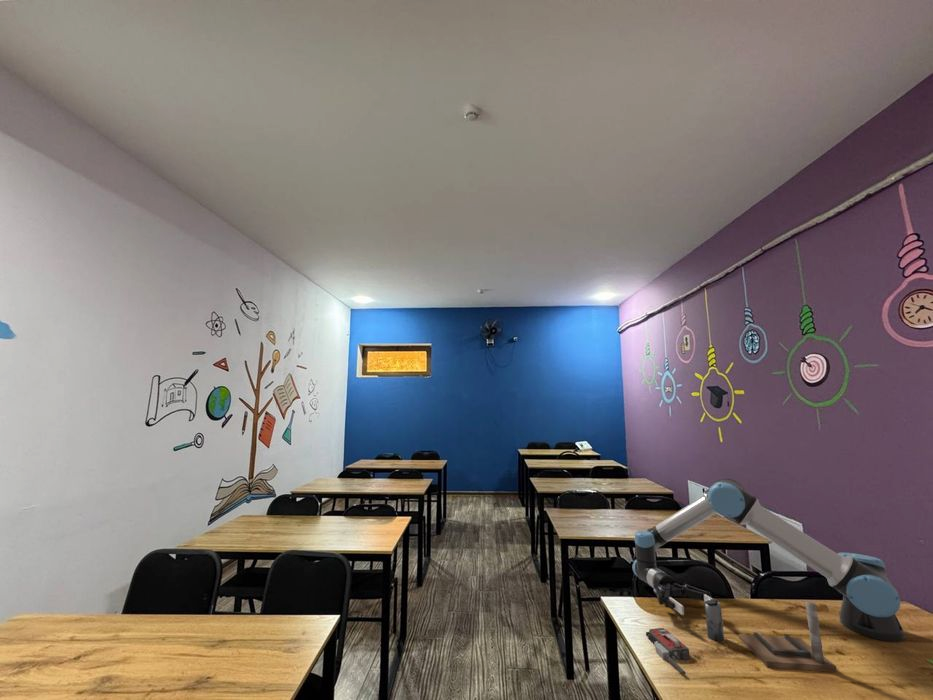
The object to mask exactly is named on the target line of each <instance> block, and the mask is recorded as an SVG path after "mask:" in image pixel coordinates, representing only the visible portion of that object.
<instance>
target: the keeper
mask: <svg viewBox="0 0 933 700" xmlns="http://www.w3.org/2000/svg"><path fill="white" fill-rule="evenodd" d="M804 603H805V611H806V618H807V623H808V624H807V625H808V631H809V632H808V633H809V641H810V644H809V643H808V642H806V641H805V639H803V638H802V637H798V636H790V635H789V634H788V633H787V634H786V633H784V634H783V635H784V636H780V635H779V636H777V635H763V634H762V635H761V634H759V633H758V632H755V631H754V632H753V634H744V633H743V634H742V633H741V634H740V633H738V640H739V639H740V640H741V641H742V642H743V643H744V644H745V645H746V646H747V647H748V648H749V649H750V650H751V651H752V652H753V653H754V654H755V655H756V656H757V657H758V658H759V659H760V660H761V661H762V662H763V663H764V664H763V663H762V662H761V661H760V660H759V659H758V658H757V657H756V656H755V655H754V654H753V653H752V654H753V655H754V656H755V657H756V658H757V659H758V660H759V661H760V662H761V663H762V664H763V665H764V666H765V667H766V668H771V669H773V668H774V669H786V670H787V669H788V670H803V671H805V670H806V671H819V672H832V673H837V671H838V670H837V665H836V664H834V663H833V662H832V661H830V660H829V659H828V658H826V657H825V656H824V651H823V645H822V636H821V631H820V623H819V617H818V612H823V613H824V612H825V613H829V611H830V610H829V607H828V605H827V604H824V603H823V604H822V603H814V602H811V601H805V602H804ZM740 640H739V641H740ZM741 641H740V642H741ZM742 642H741V643H742ZM743 643H742V644H743ZM744 644H743V645H744ZM745 645H744V646H745ZM746 646H745V647H746ZM747 647H746V648H747ZM749 649H748V650H749ZM750 650H749V651H750ZM751 651H750V652H751Z"/></svg>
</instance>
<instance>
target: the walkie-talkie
mask: <svg viewBox="0 0 933 700" xmlns="http://www.w3.org/2000/svg"><path fill="white" fill-rule="evenodd" d="M645 635H646V637H647V638H648V639H649V641H650V642H651V643H653V644H654V645H653V646H654V647H655V652H656V654H657V655H658V656H660V658H661V659H662V660H663V661H666V660H667V661H668V662H669V663H670V664H672V666H673V667H674V668H676V670H678V671H679V672H681V674H683V675H686V670H684V669H683V667H681V666H680V665H679V664H678V663H677V662H676V660H688V659H691V658H690V649H689V648H688V646H686V645H685V644H684V643H683V642H682V641H680V640H679V639H678V638H677V637H676V636H675V635H673V634H672V633H671V632H670V631H669V630H668V629H666V628H664V627H661V628H660V627H659V628H650V629H649V630H648V631H646V632H645Z"/></svg>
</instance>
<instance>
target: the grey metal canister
mask: <svg viewBox="0 0 933 700" xmlns="http://www.w3.org/2000/svg"><path fill="white" fill-rule="evenodd" d="M703 602H704V601H703ZM718 602H719V601H718V599H717V598H712V599H707V600H706V601H705V602H704V614H705V622H706V632H707V638H708V639H709V640H711V641H713V640H714V642H716V641H718V642H717V643H723V642H722V641H724V642H725V633H724V632H725V630H724V624H723V622H724V621H723V615H722V614H723V613H722V606H721V604H718Z"/></svg>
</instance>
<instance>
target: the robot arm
mask: <svg viewBox="0 0 933 700" xmlns="http://www.w3.org/2000/svg"><path fill="white" fill-rule="evenodd" d="M717 514H719V515H720V516H722V517H726V518H729V519H731V520H732V521H734V522H736V524H738V525H741V526H743V525H744V526H745V525H746V526H748V527H750V528H752V529H753V530H754V531H756V532H758V533H759V534H760V535H762V536H763V537H764V538H766V539H768V540H769V541H771V542H772V543H774V544H775V545H777V546H778V547H780V548H781V549H783V550H784V551H785V552H788V553H789V554H790V555H792V556H793V557H794V558H796V559H798V560H799V561H801V562H802V563H803V564H805V565H806V566H808V567H810V568H811V569H813V570H814V571H815V572H817V573H819V574H820V575H821V576H823V577H825V578H826V579H827V583H828V586H830V587H831V588H832V589H835V590H836V591H838V593H840V594H841V595H842V601H841V606H840V611H839V615H838V616H839V621H840V623H841V624H842V626H844V627H845V628H847V629H849V630H851V631H853V632H855V633H857V634H860V635H863V636H866V637H868V638H872V639H876V640H879V641H886V642H902V641H904V640H906V637H905V631H904V628H903V627H902V624H901V622H900V621H899V618H898V617H897V615H896V614H897V612H899V610H900V609H901V599H900V595H899V592H898V591H897V589H896V587H894V585H893V584H892V583H891V581H890V580H889V579H888V575H887V571H886V570H887V567H886V565H885V563H884V561H883V560H882V559H881V558H877V557H874V556H870V555H865V554H861V553H853V552H838V553H837V552H836V551H834V550H832V549H830V548H829V547H827V546H826V545H824V544H823V543H821V542H819V541H818V540H816V539H815V538H813V537H811V536H810V535H808V534H806V532H803V531H802V530H801V529H799V528H797V527H795V526H794V525H792V524H790V523H789V522H787V521H786V520H784V519H783V518H781V517H780V516H778V515H776V514H774V513H773V512H771V511H770V510H768V509H766V508H765V507H764V506H763V505H761V503H760V501H759V498H757V497H756V496H753V494H751V493H750V492H747V491H746V489H745V488H744V486H743V485H742V484H741V483H740V482H738V481H736V480H734V479H733V478H720V479H717V480H716V481H715V482H713V484H712V485H711V486H710V487H709V488H708V489H706V490H705V491H703V495H702V496H701V497H699V498H697V499H696V500H694V501H692V502H691V503H689V504H688V505H686V506H684V507H683V508H681V509H679V510H678V511H676V512H675V513H674V514H671V515H670V516H669V517H667V518H665V519H664V520H662V521H661V522H659V523H657V524H656V525H654V526H652V527H651V528H648V529H647V530H636V531H635V533H634V543H635V544H634V545H635V554H636V559H635V560H633V563H632V566H631V567H632V568H631V569H632V572H633V573H634V575H635V576H636V577H638V579H639V580H641V581H643V582H645V583H646V584H647V585H648V586H650V587H651V588H653V593H654V594H655V596H656V597H657V600H658V604H659V605H660V606H662V605H664V607H665V608H672V609H673V610H674V611H676V612H677V613H679V615H681V616H684V615H685V609H684V605H682V604H681V603H680V602H678V601H677V600H675V599H674V598H673V597H682V598H687V597H688V598H691V599H693V600H698V601H702V602H705V601H706V600H707V599H713V598H712V593H711V592H710V591H707V590H703V589H701V588H698V587H695V586H692V585H690V584H688V583H686V582H683V585H680V584H679V583H677V581H676V580H675V579H674V578H673V576H671V575H669V574H668V573H666V572H665V571H663V570H661V569H660V568H658V567H657V559H656V558H657V557H656V552H657V550H658V549H659V548H661V547H662V546H664V545H666V544H667V543H668V542H670V541H672V540H673V539H675V538H677V537H678V536H680V535H682V534H684V533H685V532H687V531H689V530H691V529H693V528H694V527H696V526H697V525H699V524H701V523H702V522H704V521H705V520H707V519H709V518H710V517H713V516H714V515H717ZM718 604H720V602H719V601H718ZM720 605H721V604H720Z"/></svg>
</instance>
